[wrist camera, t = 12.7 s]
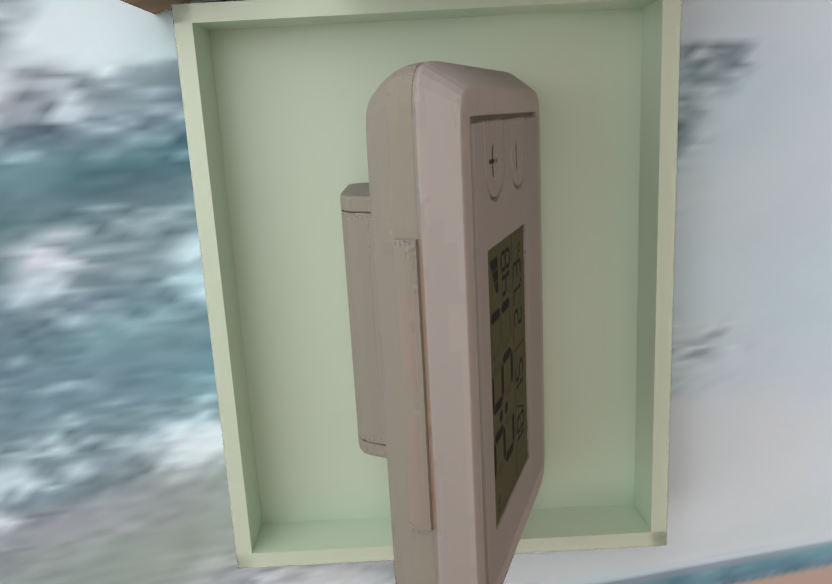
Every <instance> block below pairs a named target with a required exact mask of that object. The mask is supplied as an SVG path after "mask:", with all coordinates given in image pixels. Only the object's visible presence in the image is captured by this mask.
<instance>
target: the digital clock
mask: <svg viewBox="0 0 832 584" xmlns="http://www.w3.org/2000/svg"><path fill="white" fill-rule="evenodd" d="M366 140H367V158H368V175H369V183H354V184H350V185H348V186H347V187H346V188H345V189H344V190H343V192H342V193H341V195H340V203H341V213H342V227H343V240H344V253H345V266H346V279H347V293H348V306H349V319H350V332H351V346H352V359H353V372H354V385H355V398H356V412H357V425H358V441H359V446H360V449H361V450H362V451H363V452H364V453H366V454H369V455H373V456H378V457H383V458H386V459H387V465H388V480H389V495H390V510H391V525H392V539H393V553H394V566H395V578H396V584H503V582H504V579H505V577H506V574H507V571H508V569H509V566H510V564H511V561H512V559H513V556H514V553H515V551H516V548H517V546H518V543H519V540H520V538H521V535H522V533H523V530H524V527H525V525H526V522H527V520H528V517H529V515H530V512H531V509H532V507H533V504H534V502H535V499H536V496H537V494H538V491H539V488H540V485H541V482H542V478H543V473H544V458H545V453H544V370H543V303H542V237H541V170H540V121H539V103H538V97H537V94H536V92H535V91H534V90H533V89H531V88H530V87H529V86H528V85H526V84H525V83H524V82H522V81H521V80H519V79H518V78H516V77H515V76H514V75H512V74H510V73H508V72H503V71H497V70H491V69H485V68H478V67H472V66H466V65H460V64H453V63H447V62H441V61H428V62H420V63H415V64H411V65H407V66H405V67H403V68H401V69H399V70H396V71H395V72H393V73H392V74H391V75H390V76H389V77H388V78H387V79H386V80H384V81H383V82H382V83H381V84H380V85H379V87H378V88H377V89H376V91H375V92H374V93H373V95H372V97H371V98H370V100H369V103H368V106H367V112H366Z"/></svg>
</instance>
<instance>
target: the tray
mask: <svg viewBox="0 0 832 584" xmlns="http://www.w3.org/2000/svg"><path fill="white" fill-rule="evenodd" d="M171 5H172V14H173V22H174V31H175V39H176V48H177V56H178V65H179V73H180V81H181V90H182V98H183V107H184V115H185V124H186V132H187V141H188V149H189V158H190V166H191V174H192V183H193V191H194V200H195V208H196V217H197V225H198V234H199V242H200V251H201V259H202V267H203V276H204V284H205V293H206V301H207V310H208V318H209V327H210V335H211V344H212V352H213V361H214V369H215V377H216V386H217V394H218V403H219V411H220V420H221V428H222V437H223V445H224V454H225V462H226V470H227V479H228V487H229V496H230V504H231V513H232V521H233V530H234V538H235V547H236V555H237V563H238V568H255V567H274V566H292V565H311V564H330V563H348V562H367V561H385V560H394V553H393V539H392V525H391V510H390V495H389V480H388V465H387V459H386V458H383V457H378V456H373V455H369V454H366V453H364V452H363V451H362V450H361V449H360V446H359V441H358V425H357V412H356V398H355V385H354V372H353V359H352V346H351V332H350V319H349V306H348V293H347V279H346V266H345V253H344V240H343V227H342V213H341V203H340V195H341V193H342V192H343V190H344V189H345V188H346V187H347V186H348V185H350V184H354V183H369V175H368V158H367V140H366V112H367V106H368V103H369V100H370V98H371V97H372V95H373V93H374V92H375V91H376V89H377V88H378V87H379V85H380V84H381V83H382V82H383V81H384V80H386V79H387V78H388V77H389V76H390V75H391V74H392V73H393V72H395V71H396V70H399V69H401V68H403V67H405V66H407V65H411V64H415V63H420V62H428V61H441V62H447V63H453V64H460V65H466V66H472V67H478V68H485V69H491V70H497V71H503V72H508V73H510V74H512V75H514V76H515V77H516V78H518V79H519V80H521V81H522V82H524V83H525V84H526V85H528V86H529V87H530V88H531V89H533V90H534V91H535V92H536V94H537V97H538V103H539V121H540V170H541V237H542V303H543V370H544V453H545V458H544V473H543V478H542V482H541V485H540V488H539V491H538V494H537V496H536V499H535V502H534V504H533V507H532V509H531V512H530V515H529V517H528V520H527V522H526V525H525V527H524V530H523V533H522V535H521V538H520V540H519V543H518V546H517V548H516V551H515V553H534V552H553V551H571V550H590V549H608V548H627V547H645V546H664V545H666V535H667V498H668V462H669V425H670V389H671V352H672V316H673V279H674V243H675V207H676V170H677V134H678V97H679V61H680V24H681V0H245V1H226V2H207V3H188V4H171ZM515 553H514V554H515Z"/></svg>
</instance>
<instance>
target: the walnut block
mask: <svg viewBox="0 0 832 584" xmlns="http://www.w3.org/2000/svg"><path fill="white" fill-rule="evenodd" d="M121 1H124V2H126V3H129V4H131V5H134V6H136V7H138V8H141V9H143V10H146V11H148V12H151V13H153V14H156V13H159V12H161V11H164V10H167V9H170V8H172V5H171V4H184V3H187V2H190V1H193V0H121Z"/></svg>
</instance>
